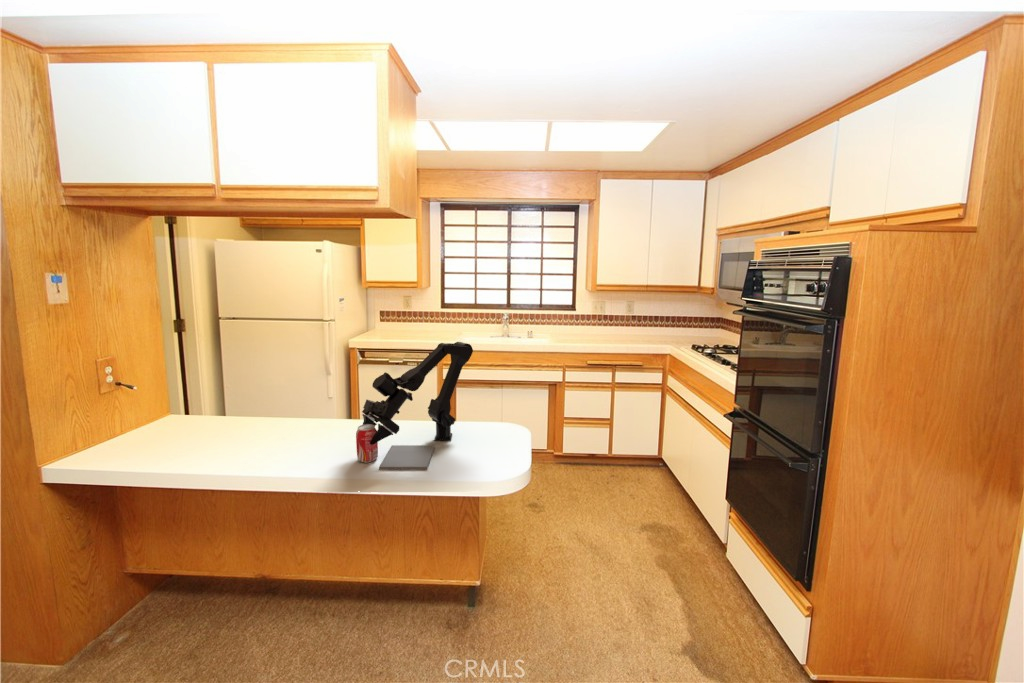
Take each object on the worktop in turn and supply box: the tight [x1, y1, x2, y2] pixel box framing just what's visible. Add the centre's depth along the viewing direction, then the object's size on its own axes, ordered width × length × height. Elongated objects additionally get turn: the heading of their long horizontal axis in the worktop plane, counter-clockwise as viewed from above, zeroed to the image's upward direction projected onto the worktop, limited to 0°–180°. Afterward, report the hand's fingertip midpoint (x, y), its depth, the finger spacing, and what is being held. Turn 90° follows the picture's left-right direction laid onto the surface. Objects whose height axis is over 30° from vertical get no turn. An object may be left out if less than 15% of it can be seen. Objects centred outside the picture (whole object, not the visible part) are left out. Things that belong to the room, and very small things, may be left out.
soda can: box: [355, 424, 379, 464], centre depth 157 cm, size 7×7×12 cm
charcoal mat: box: [378, 444, 436, 471], centre depth 159 cm, size 18×16×1 cm
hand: (364, 440), depth 156 cm, fingers open, 9 cm apart
